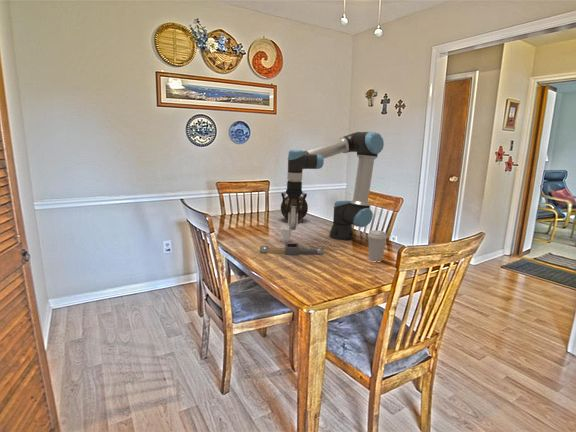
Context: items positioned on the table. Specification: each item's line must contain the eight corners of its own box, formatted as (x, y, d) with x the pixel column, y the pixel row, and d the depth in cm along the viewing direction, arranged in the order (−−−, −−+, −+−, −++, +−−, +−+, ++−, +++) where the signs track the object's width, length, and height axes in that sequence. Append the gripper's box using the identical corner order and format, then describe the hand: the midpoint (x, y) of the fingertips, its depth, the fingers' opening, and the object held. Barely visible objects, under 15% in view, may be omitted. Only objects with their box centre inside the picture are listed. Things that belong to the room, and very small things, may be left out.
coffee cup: (374, 265, 165) (377, 235, 162) (361, 258, 174) (364, 230, 170) (388, 262, 170) (391, 233, 166) (375, 256, 178) (378, 229, 175)
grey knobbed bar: (322, 251, 183) (323, 244, 183) (324, 255, 176) (324, 248, 175) (260, 249, 183) (260, 242, 182) (259, 253, 175) (259, 246, 174)
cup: (292, 242, 196) (293, 229, 195) (275, 243, 194) (276, 229, 193) (290, 239, 203) (290, 226, 201) (274, 239, 201) (274, 226, 199)
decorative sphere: (307, 224, 239) (309, 197, 234) (279, 223, 239) (280, 196, 234) (306, 218, 258) (307, 192, 254) (280, 217, 258) (281, 191, 254)
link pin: (295, 228, 178) (296, 206, 175) (296, 230, 175) (297, 207, 172) (288, 228, 178) (289, 205, 175) (289, 229, 174) (290, 207, 172)
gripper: (310, 180, 175) (307, 224, 180) (278, 179, 174) (276, 222, 179) (311, 182, 167) (309, 227, 172) (278, 181, 167) (276, 226, 172)
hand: (292, 225), depth 176 cm, fingers closed on link pin, 4 cm apart
